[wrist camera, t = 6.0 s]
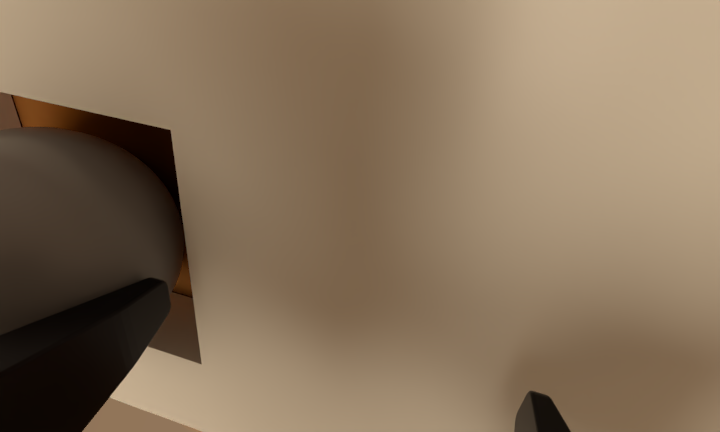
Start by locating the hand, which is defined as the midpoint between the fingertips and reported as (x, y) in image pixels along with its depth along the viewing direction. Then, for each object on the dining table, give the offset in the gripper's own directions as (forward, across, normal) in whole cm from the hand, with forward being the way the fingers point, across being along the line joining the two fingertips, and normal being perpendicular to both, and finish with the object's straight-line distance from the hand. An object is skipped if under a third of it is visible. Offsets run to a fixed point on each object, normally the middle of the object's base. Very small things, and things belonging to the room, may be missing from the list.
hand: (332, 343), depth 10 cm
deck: (+4, +2, 0) cm, 4 cm away
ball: (0, +8, 0) cm, 8 cm away
